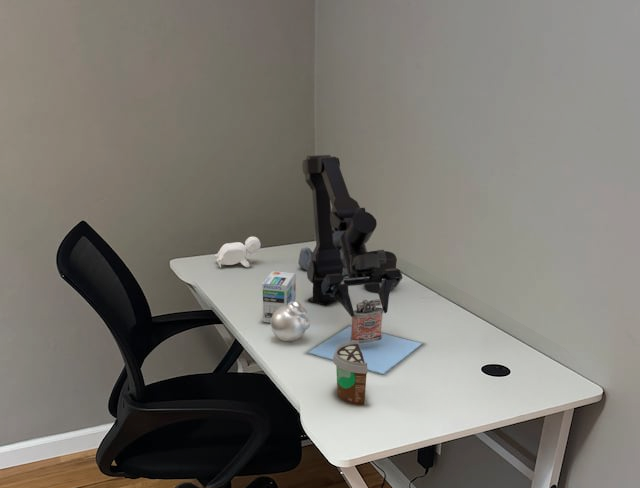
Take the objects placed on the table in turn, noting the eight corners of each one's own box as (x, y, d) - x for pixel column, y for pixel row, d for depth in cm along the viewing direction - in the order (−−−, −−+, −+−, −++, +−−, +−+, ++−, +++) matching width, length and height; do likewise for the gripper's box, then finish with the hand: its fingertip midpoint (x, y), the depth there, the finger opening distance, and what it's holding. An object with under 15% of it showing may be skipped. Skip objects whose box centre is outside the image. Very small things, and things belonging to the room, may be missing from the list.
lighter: (353, 345, 165) (355, 305, 160) (347, 339, 167) (349, 300, 163) (384, 340, 167) (386, 301, 163) (377, 334, 170) (380, 296, 165)
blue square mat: (350, 326, 180) (350, 325, 180) (421, 344, 171) (421, 343, 171) (308, 353, 165) (308, 352, 165) (382, 374, 156) (382, 373, 156)
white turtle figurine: (224, 278, 222) (267, 258, 222) (213, 254, 218) (257, 235, 218) (221, 270, 229) (263, 251, 230) (210, 247, 225) (253, 227, 225)
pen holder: (401, 288, 207) (403, 255, 202) (381, 296, 201) (383, 262, 196) (376, 280, 212) (378, 248, 208) (356, 288, 206) (357, 255, 202)
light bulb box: (287, 325, 181) (287, 285, 176) (262, 322, 182) (261, 283, 177) (296, 310, 190) (296, 272, 185) (272, 308, 191) (272, 270, 186)
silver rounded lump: (301, 349, 167) (301, 310, 163) (265, 343, 170) (264, 305, 165) (314, 335, 175) (314, 298, 170) (279, 330, 178) (279, 293, 173)
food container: (328, 381, 153) (330, 339, 148) (356, 380, 153) (358, 339, 148) (335, 409, 142) (336, 365, 137) (365, 408, 142) (367, 364, 138)
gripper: (326, 240, 157) (340, 304, 153) (402, 234, 162) (418, 296, 158) (315, 263, 167) (328, 323, 163) (387, 257, 172) (401, 315, 168)
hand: (369, 314), depth 163 cm, fingers closed on lighter, 8 cm apart
